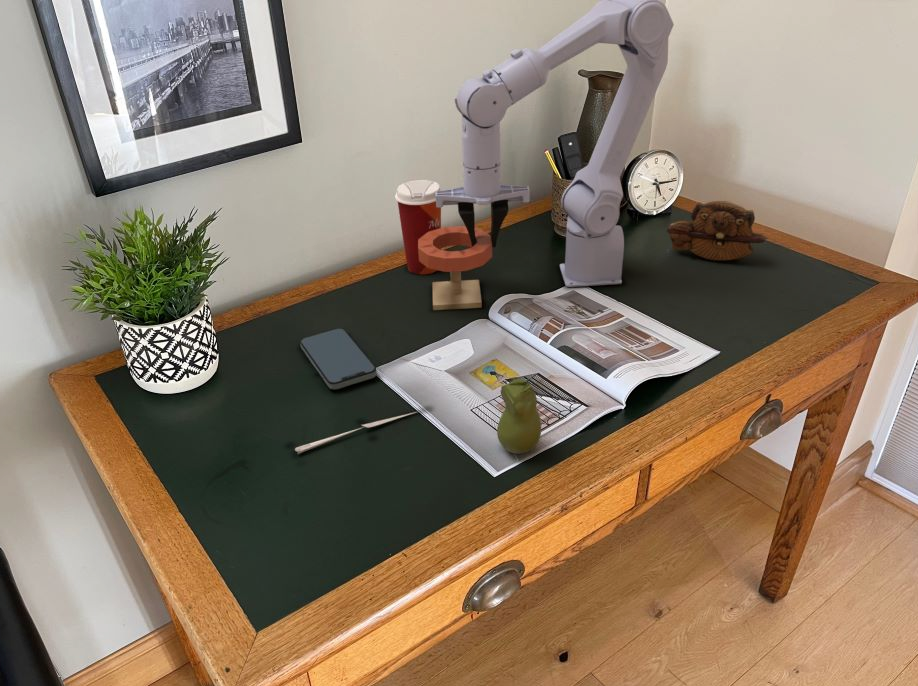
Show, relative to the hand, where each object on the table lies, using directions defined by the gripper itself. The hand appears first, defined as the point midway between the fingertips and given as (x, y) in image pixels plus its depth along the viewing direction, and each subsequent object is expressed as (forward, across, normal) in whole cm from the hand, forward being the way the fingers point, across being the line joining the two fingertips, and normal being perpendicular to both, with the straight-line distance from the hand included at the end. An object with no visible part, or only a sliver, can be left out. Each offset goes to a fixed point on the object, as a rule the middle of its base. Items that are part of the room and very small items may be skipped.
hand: (483, 245), depth 127 cm
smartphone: (+10, -23, -18) cm, 31 cm away
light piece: (+9, -18, -35) cm, 41 cm away
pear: (+10, +2, -40) cm, 41 cm away
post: (+9, -5, 0) cm, 10 cm away
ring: (+1, -5, 0) cm, 5 cm away
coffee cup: (+10, -10, +12) cm, 18 cm away
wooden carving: (+9, +41, +9) cm, 43 cm away
